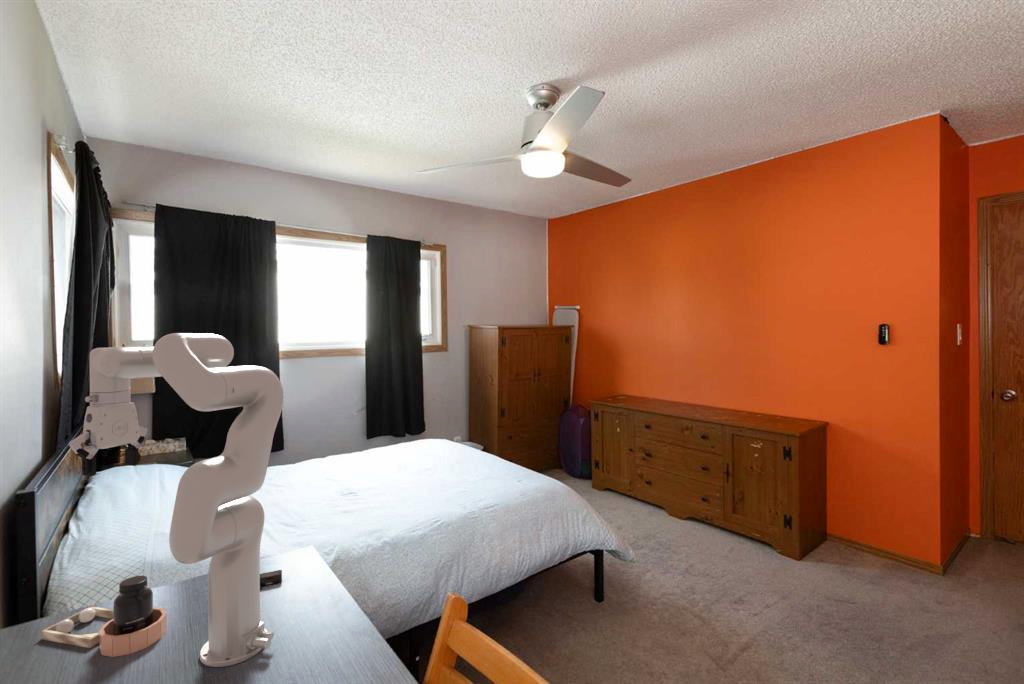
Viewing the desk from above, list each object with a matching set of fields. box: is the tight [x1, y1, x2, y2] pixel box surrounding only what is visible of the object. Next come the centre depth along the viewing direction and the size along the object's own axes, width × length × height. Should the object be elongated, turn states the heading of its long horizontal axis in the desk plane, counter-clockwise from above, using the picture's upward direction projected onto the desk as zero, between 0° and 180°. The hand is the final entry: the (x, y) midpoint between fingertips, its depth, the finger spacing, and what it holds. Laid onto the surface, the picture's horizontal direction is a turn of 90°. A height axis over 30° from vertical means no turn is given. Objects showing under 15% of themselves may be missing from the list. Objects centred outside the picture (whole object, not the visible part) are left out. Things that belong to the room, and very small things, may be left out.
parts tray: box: [40, 605, 113, 649], centre depth 108 cm, size 14×10×2 cm
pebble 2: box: [78, 607, 96, 624], centre depth 111 cm, size 3×3×3 cm
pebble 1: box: [55, 618, 75, 634], centre depth 107 cm, size 3×3×3 cm
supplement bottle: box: [112, 575, 154, 636], centre depth 105 cm, size 7×7×12 cm
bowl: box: [98, 606, 167, 658], centre depth 105 cm, size 11×11×4 cm
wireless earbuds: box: [260, 569, 283, 591], centre depth 127 cm, size 4×7×3 cm, turn 116°
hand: (111, 469), depth 115 cm, fingers open, 9 cm apart
